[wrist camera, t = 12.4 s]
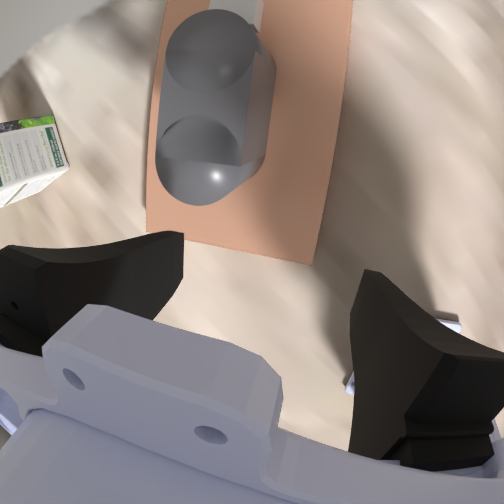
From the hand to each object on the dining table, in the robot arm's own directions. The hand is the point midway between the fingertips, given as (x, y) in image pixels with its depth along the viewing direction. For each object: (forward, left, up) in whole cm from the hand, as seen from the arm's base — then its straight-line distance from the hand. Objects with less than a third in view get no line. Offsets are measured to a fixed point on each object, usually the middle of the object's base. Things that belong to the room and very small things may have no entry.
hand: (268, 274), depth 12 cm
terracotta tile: (+6, +4, -9) cm, 12 cm away
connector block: (+6, +4, -8) cm, 11 cm away
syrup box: (+2, +23, -10) cm, 25 cm away
